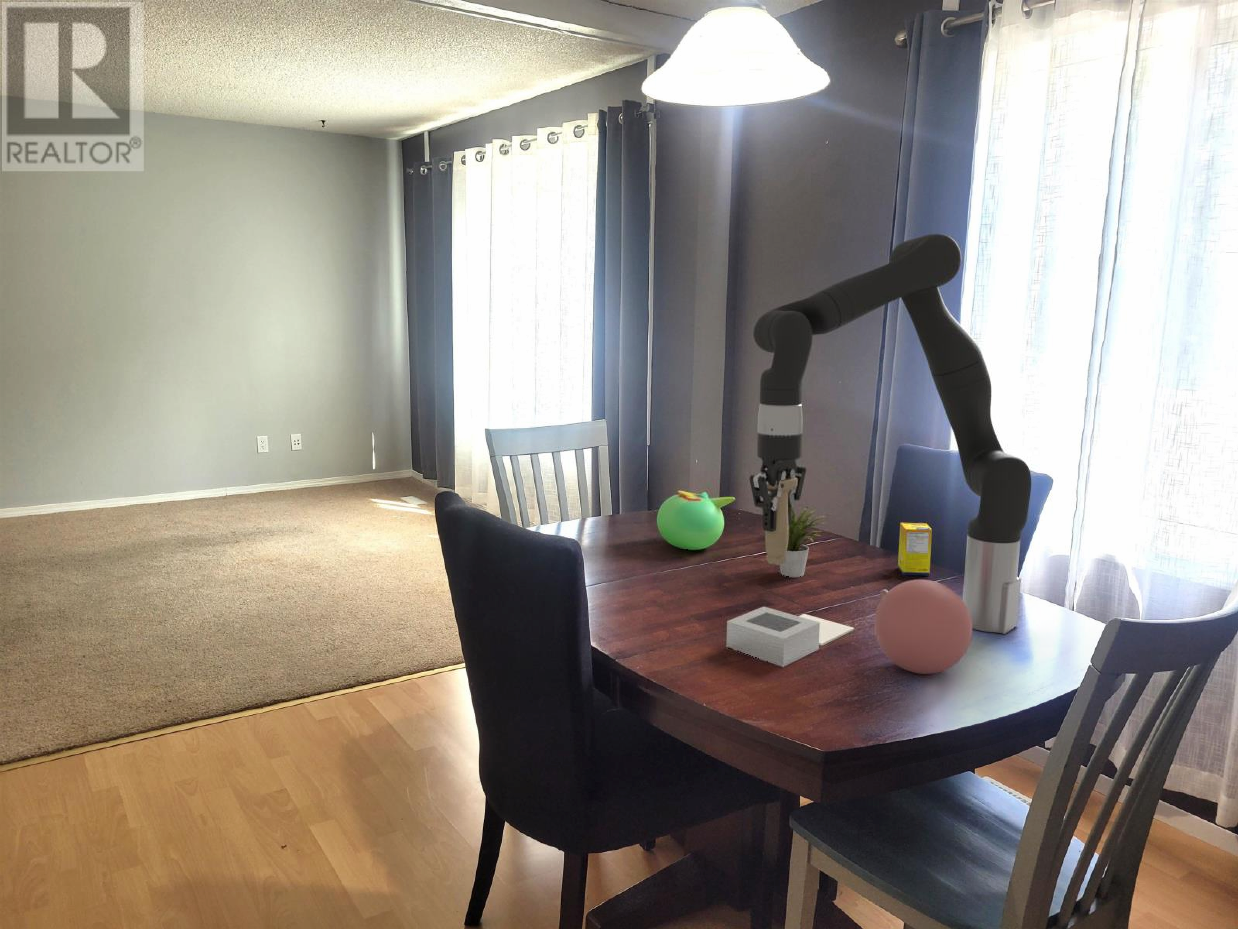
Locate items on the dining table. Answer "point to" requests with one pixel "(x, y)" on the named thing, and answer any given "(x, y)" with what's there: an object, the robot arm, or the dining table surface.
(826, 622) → the mat
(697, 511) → the toy bird
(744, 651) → the collar
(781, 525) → the handle
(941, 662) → the balloon
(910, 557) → the supplement box
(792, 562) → the house plant
